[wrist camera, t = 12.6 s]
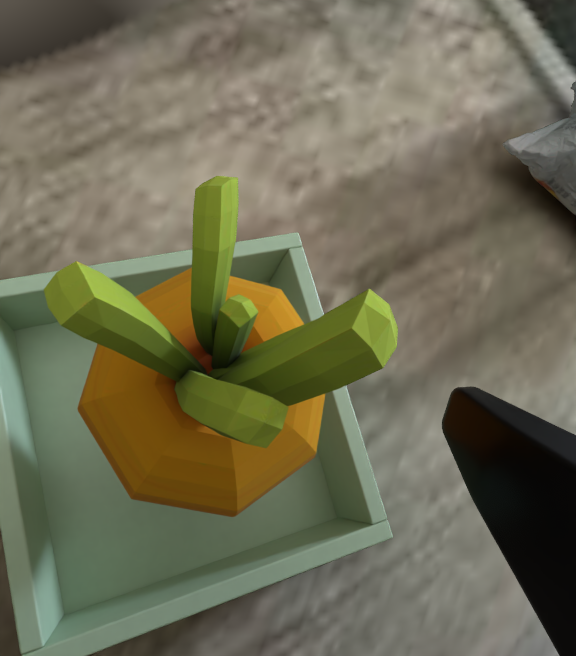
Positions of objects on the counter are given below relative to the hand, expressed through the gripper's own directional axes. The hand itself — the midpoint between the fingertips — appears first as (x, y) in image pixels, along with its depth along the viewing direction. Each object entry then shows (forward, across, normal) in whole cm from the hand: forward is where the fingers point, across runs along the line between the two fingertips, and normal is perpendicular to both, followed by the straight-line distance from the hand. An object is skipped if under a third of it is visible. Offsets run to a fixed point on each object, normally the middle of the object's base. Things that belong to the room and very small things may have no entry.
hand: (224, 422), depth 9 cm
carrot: (+8, 0, +7) cm, 11 cm away
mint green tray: (+9, 0, +8) cm, 12 cm away
